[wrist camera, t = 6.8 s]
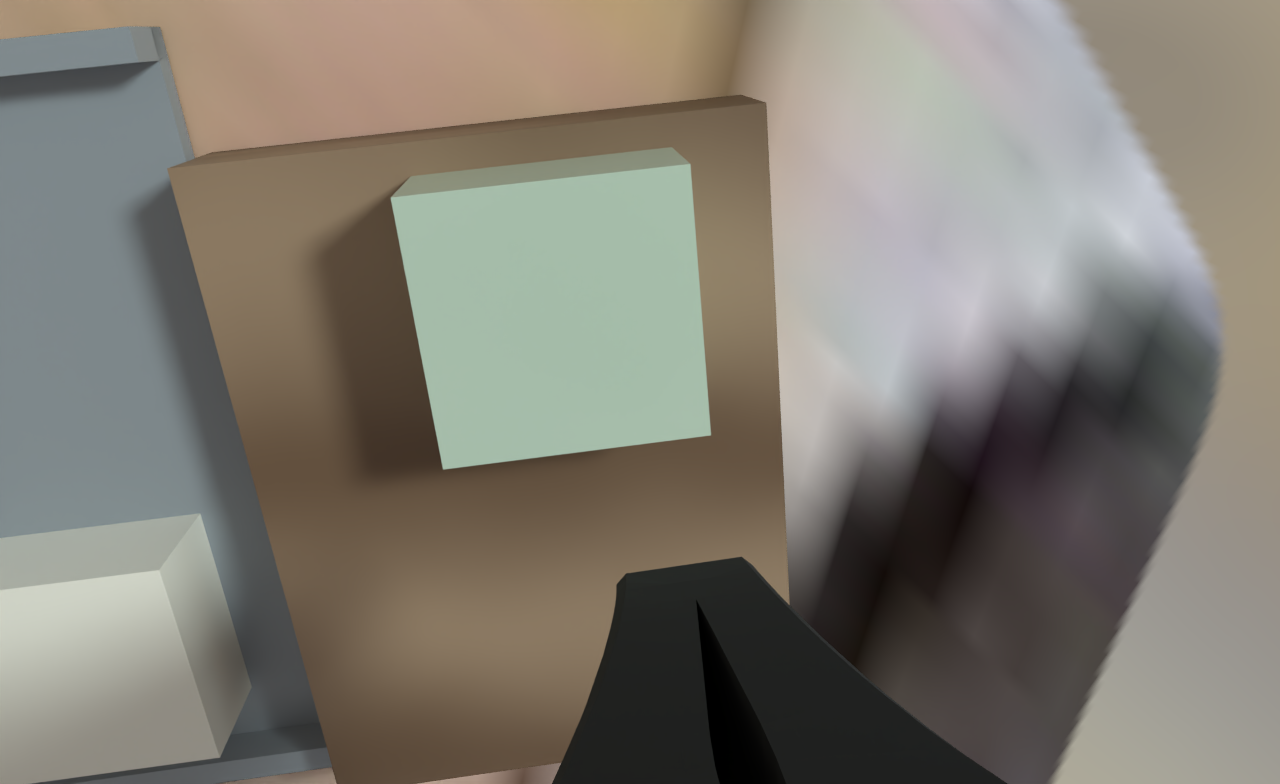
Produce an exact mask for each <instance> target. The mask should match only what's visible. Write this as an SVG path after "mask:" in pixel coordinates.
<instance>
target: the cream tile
mask: <svg viewBox="0 0 1280 784" xmlns="http://www.w3.org/2000/svg"><path fill="white" fill-rule="evenodd" d="M251 687H252V686H251V683H250V679H249V676H248V673H247V669H246V666H245V663H244V659H243V656H242V652H241V649H240V646H239V642H238V639H237V636H236V632H235V629H234V626H233V622H232V619H231V615H230V612H229V609H228V605H227V602H226V599H225V595H224V592H223V588H222V585H221V582H220V578H219V575H218V572H217V568H216V565H215V561H214V558H213V555H212V551H211V548H210V545H209V541H208V538H207V535H206V531H205V528H204V524H203V521H202V518H201V514H200V513H199V514H191V515H183V516H175V517H167V518H159V519H151V520H142V521H134V522H126V523H118V524H110V525H102V526H94V527H86V528H78V529H70V530H62V531H53V532H45V533H37V534H29V535H21V536H13V537H5V538H0V784H31V783H39V782H46V781H53V780H61V779H68V778H75V777H82V776H90V775H97V774H104V773H112V772H119V771H126V770H133V769H141V768H148V767H155V766H162V765H170V764H177V763H184V762H192V761H199V760H206V759H213V758H220V756H221V754H222V752H223V750H224V747H225V745H226V743H227V741H228V738H229V736H230V734H231V732H232V730H233V727H234V725H235V723H236V721H237V719H238V716H239V714H240V712H241V710H242V707H243V705H244V703H245V701H246V699H247V696H248V694H249V692H250V690H251Z"/></svg>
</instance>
